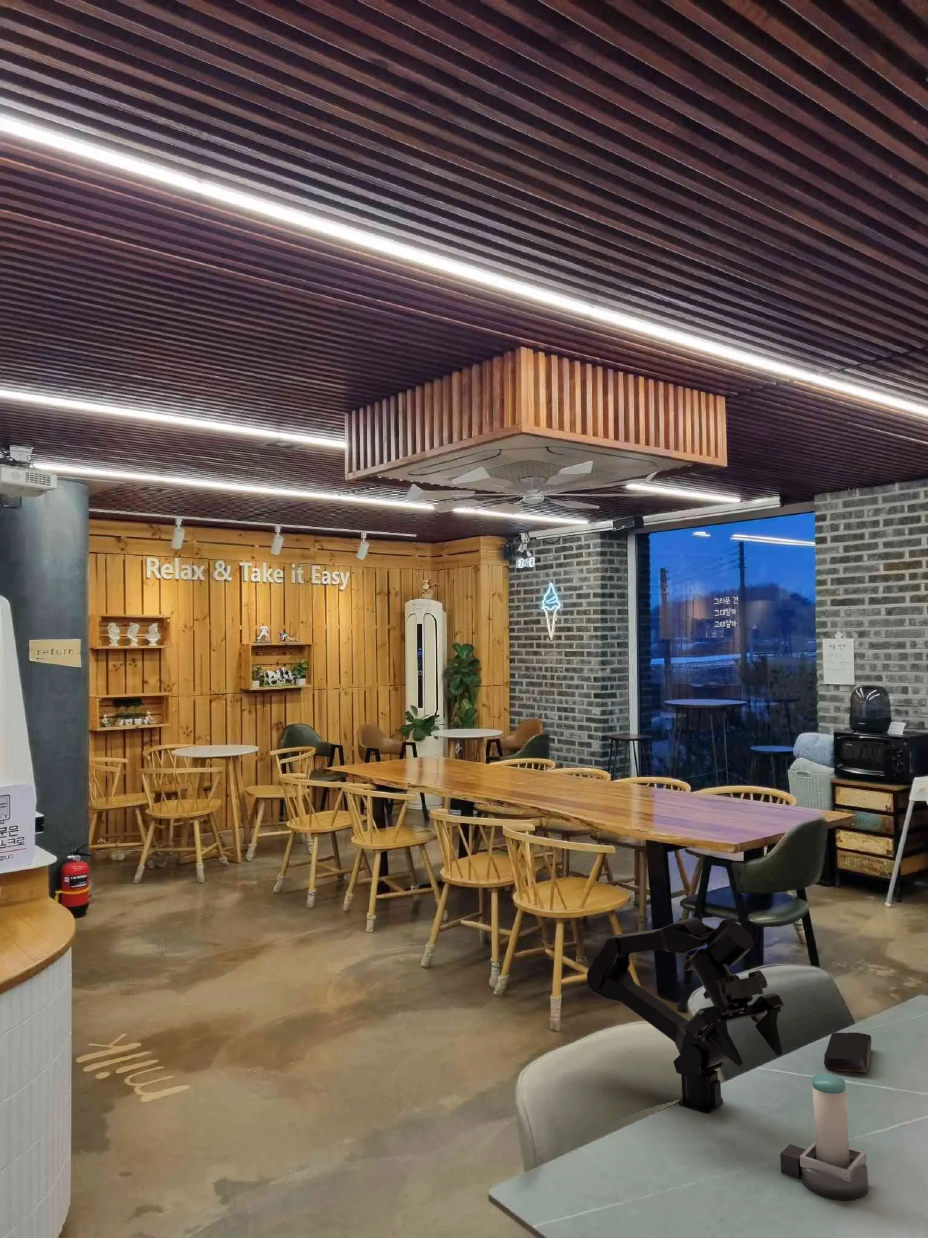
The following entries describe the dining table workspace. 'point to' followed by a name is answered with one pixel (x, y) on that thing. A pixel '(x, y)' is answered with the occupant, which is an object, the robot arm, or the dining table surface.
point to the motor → (827, 1173)
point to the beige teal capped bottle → (831, 1120)
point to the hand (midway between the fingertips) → (761, 1060)
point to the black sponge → (848, 1052)
